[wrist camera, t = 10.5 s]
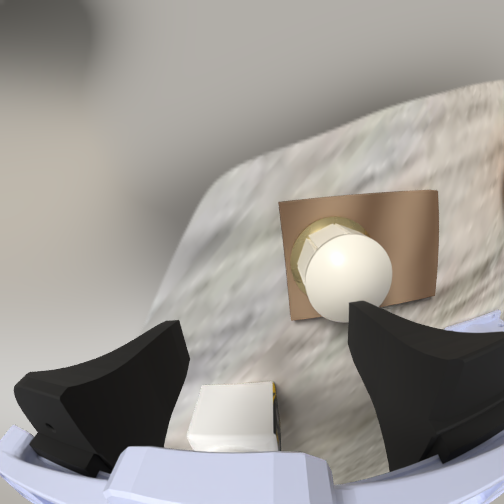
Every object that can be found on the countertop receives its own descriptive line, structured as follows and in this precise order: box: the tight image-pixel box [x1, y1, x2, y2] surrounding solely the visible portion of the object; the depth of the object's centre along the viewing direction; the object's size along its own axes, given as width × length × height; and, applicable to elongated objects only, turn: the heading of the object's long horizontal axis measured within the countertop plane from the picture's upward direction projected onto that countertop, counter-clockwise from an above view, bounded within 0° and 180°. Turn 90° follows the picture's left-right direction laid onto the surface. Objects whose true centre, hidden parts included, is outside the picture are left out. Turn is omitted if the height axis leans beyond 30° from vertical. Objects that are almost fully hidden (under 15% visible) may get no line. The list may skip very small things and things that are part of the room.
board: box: [278, 190, 439, 321], centre depth 20 cm, size 13×9×1 cm
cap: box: [297, 224, 392, 322], centre depth 17 cm, size 5×5×4 cm
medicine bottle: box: [187, 381, 281, 452], centre depth 19 cm, size 7×7×12 cm
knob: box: [290, 216, 371, 295], centre depth 18 cm, size 6×6×3 cm
